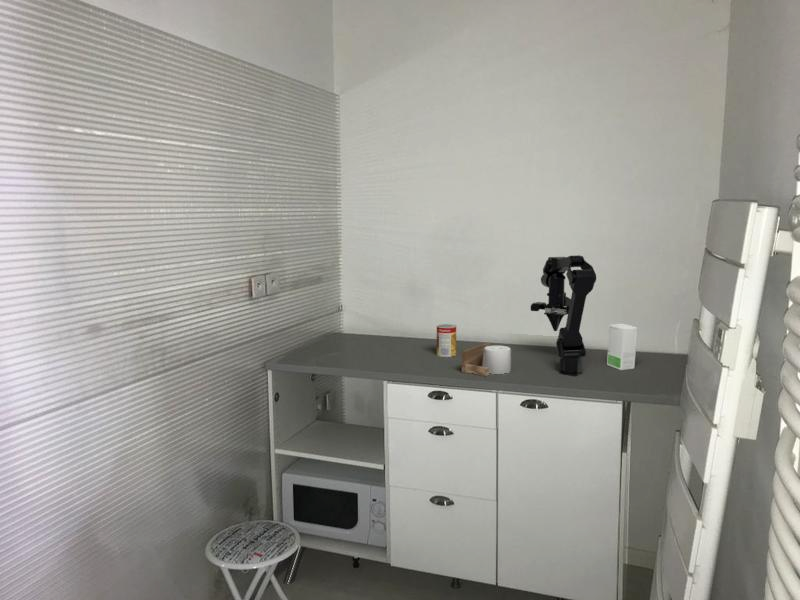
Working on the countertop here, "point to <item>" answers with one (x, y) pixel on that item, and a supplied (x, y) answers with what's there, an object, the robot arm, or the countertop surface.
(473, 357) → the roll cradle
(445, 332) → the canned food
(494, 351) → the toilet tissue
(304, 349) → the countertop surface
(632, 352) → the skincare box
